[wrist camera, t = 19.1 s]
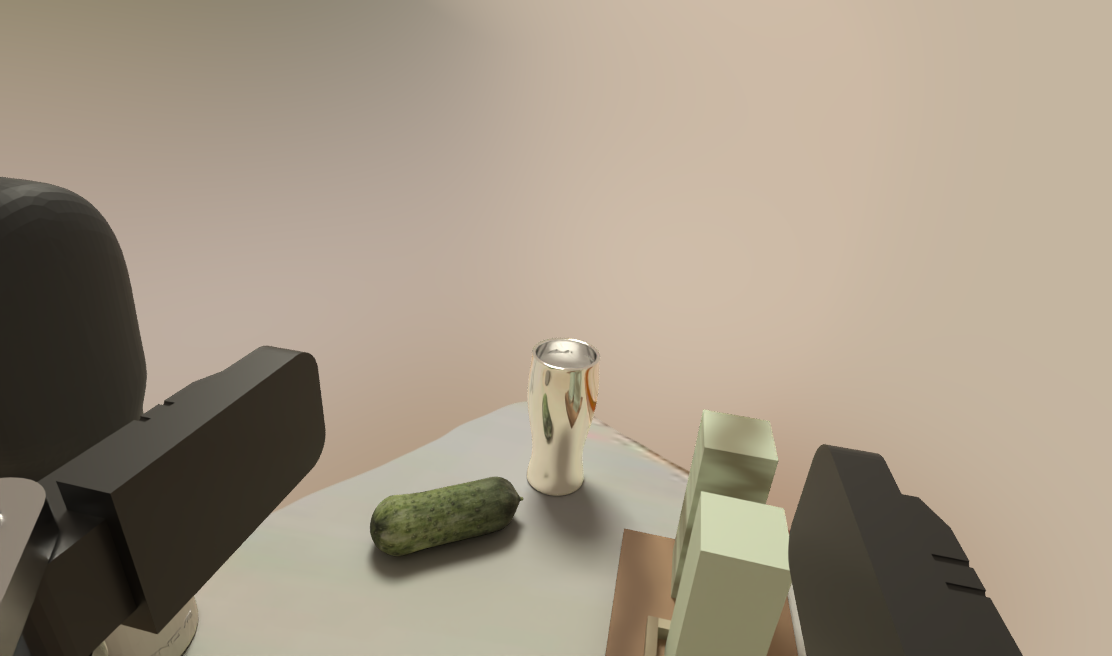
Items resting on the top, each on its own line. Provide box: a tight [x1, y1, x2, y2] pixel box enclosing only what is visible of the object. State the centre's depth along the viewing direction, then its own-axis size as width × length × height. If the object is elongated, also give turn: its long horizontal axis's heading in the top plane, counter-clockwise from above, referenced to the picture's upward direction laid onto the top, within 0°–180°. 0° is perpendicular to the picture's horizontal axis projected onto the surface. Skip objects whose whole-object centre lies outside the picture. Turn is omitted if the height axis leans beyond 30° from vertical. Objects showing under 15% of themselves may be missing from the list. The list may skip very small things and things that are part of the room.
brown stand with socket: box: [605, 410, 798, 656], centre depth 40 cm, size 14×20×16 cm
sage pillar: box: [664, 491, 792, 656], centre depth 37 cm, size 5×5×15 cm
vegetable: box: [370, 477, 523, 556], centre depth 52 cm, size 14×5×5 cm, turn 113°
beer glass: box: [527, 338, 600, 496], centre depth 58 cm, size 7×7×15 cm
